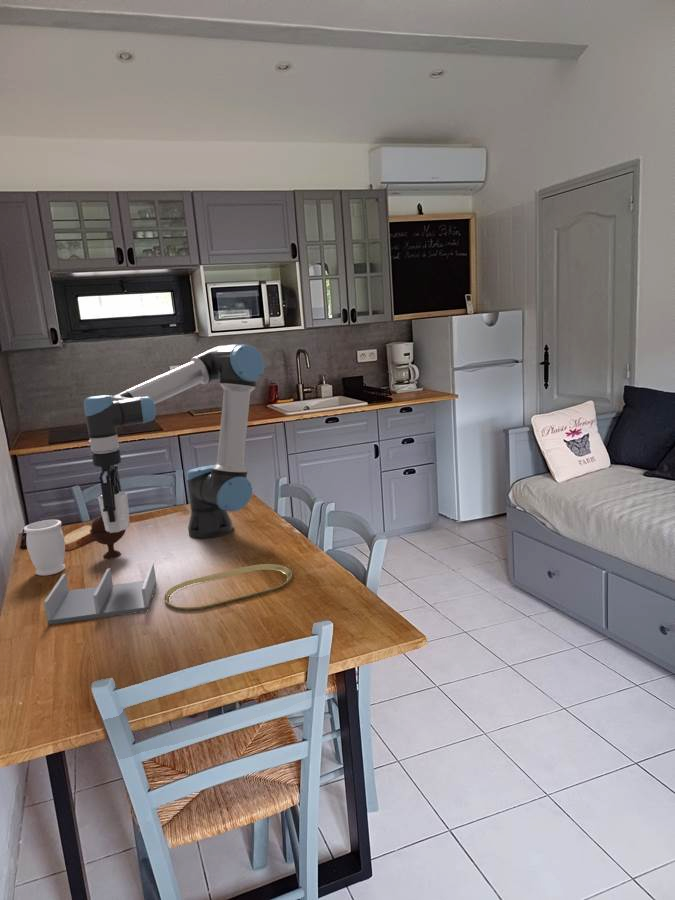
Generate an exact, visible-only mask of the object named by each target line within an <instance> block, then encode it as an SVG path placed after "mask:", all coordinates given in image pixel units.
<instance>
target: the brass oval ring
mask: <svg viewBox="0 0 675 900" xmlns="http://www.w3.org/2000/svg"><path fill="white" fill-rule="evenodd" d="M255 570H256V571H262V570H263V571H264V570H265V571H266V570H267V571H268V570H270V571H278V572H281V573H283V574H284V575H285V576H286V580H285V582H283V583H282V584H280V585H277V586H274V587H272V588H268V589H264V590H261V591H256V592H252V593H248V594H244V595H240V596H237V597H233V598H229V599H224V600H221V601H217V602H213V603H209V604H204V605H200V606H199V605H198V606H178V605H174V604H173V603H172V604H173V605H172V604H170V603H169V597H170V595H171V594H172V593H173V592H174V591H176V590H177V589H179V588H182V587H184V586H187V585H190V584H193V583H198V582H204V583H206V582H205V581H209V582H211V581H210V580H213V581H216V580H215V579H217V580H220V579H219V578H221V579H225V578H229V577H232V576H233V577H234V576H237V575H242V574H246V573H249V572H255ZM224 577H225V578H224ZM292 577H293V572H292V570H291V569H290V568H289V567H286V566H285V565H280V564H276V563H275V564H274V563H260V564H254V565H248V566H244V567H239V568H234V569H231V570H227V571H223V572H218V573H214V574H210V575H205V576H201V577H197V578H196V577H195V578H192V579H188V580H185V581H182V582H180V583H178V584H176V585H173V586H172V587H171V588H169V589H168V590H167V591H166V593H165V594H164V597H163V599H164V601H165V603H166V605H168V606H170V607H171V608H173V607H174V608H173V609H176V608H177V610H181V609H184V610H183V611H192V610H191V609H198V610H202V609H201V608H204V609H207V608H206V607H209V608H211V606H212V607H216V606H219V604H220V605H223V603H224V604H227V603H232V602H235V601H239V599H240V600H244V599H247V597H248V598H252V597H256V596H259V594H260V595H264V594H267V592H268V593H270V592H274V591H277V590H279V589H281V588H283V587H284V586H286V585H287V584H288V583H289V582H290V581H291V579H292ZM263 593H264V594H263ZM168 595H169V596H168ZM255 595H256V596H255ZM251 596H252V597H251ZM243 598H244V599H243ZM215 605H216V606H215Z"/></svg>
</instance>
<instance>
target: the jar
mask: <svg viewBox="0 0 675 900" xmlns="http://www.w3.org/2000/svg"><path fill="white" fill-rule="evenodd" d="M61 526H62V521H61V520H60V519H44V520H41V521H40V520H38V521H35V522H31V523H29V524H27V525H25V526H24V527H23V531H24V533H25V534H26V539H25V542H26V548H27V552H28V554H29V557H30V560H31V562H32V564H33V566H34V567H35V575H38V576H44V577H45V576H51V575H55V574H58V573H61V572H62V571H64V570H65V569H66V564H65V563H64V562H65V557H66V553H65V552H66V551H65V540H64V537H65V535H64V532H63V530H62V528H61Z"/></svg>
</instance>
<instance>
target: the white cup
mask: <svg viewBox="0 0 675 900" xmlns="http://www.w3.org/2000/svg"><path fill="white" fill-rule="evenodd" d="M114 495H115V498H114V499H115V507H116V509H117V514H118V521H119V527H120V531H122V530H125V529H126V530H127V529H129V527H130V526H131V523H130V512H129V511H130V510H129V509H130V508H129V501H128V493H127V492H126V491H123V490H121V491H119V493H118V494H114ZM97 498H98V503H99V508H100V513H101V514H102V518H103V522H104V525H105V530H106V531H108V532H110V531H109V525H108V519H107V512H103V509H104V505H103V497H102V494H101V495H99V496H98V497H97ZM101 514H100V515H101Z"/></svg>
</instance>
